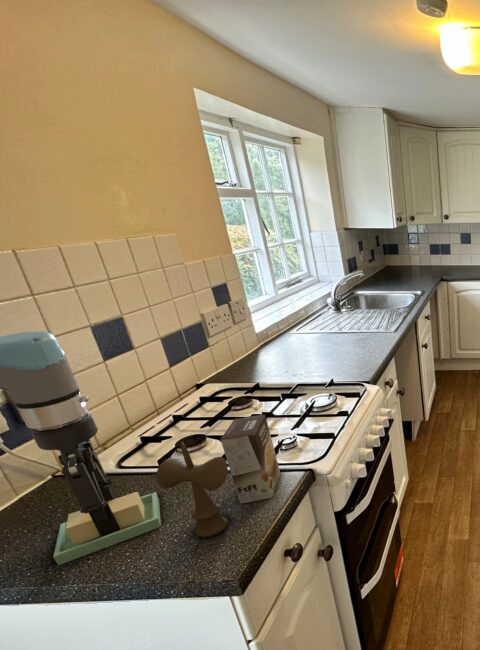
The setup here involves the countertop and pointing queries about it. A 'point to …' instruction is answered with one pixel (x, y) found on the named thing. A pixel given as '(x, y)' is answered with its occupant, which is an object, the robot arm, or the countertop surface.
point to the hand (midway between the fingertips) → (111, 523)
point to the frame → (69, 551)
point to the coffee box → (251, 458)
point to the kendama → (198, 488)
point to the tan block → (123, 509)
